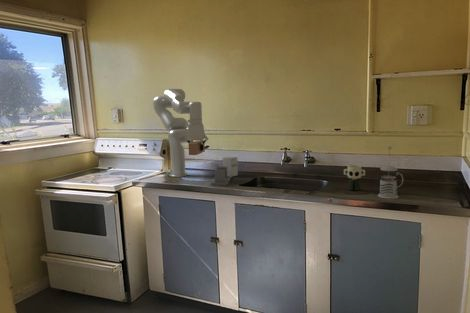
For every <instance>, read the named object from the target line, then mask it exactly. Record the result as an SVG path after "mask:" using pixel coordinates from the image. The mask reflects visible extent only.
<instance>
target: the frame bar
mask: <svg viewBox="0 0 470 313" xmlns="http://www.w3.org/2000/svg"><path fill="white" fill-rule="evenodd" d="M205 144H206V142H205V143H204V144H203V151H201V142H200V140H194V141H193V142H192V143H188V144H187V146H188V156H198V155H200V154H203V153H204V152H205V150H206V147H205V146H206V145H205Z"/></svg>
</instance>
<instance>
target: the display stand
mask: <svg viewBox="0 0 470 313" xmlns="http://www.w3.org/2000/svg"><path fill="white" fill-rule="evenodd" d="M231 178H232V177H231V176H227V166H223V165H222V166H217V167H216V170H214V171H213V179H212V180H211V182H210V186H228V185H229V183H230V181H231Z"/></svg>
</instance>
